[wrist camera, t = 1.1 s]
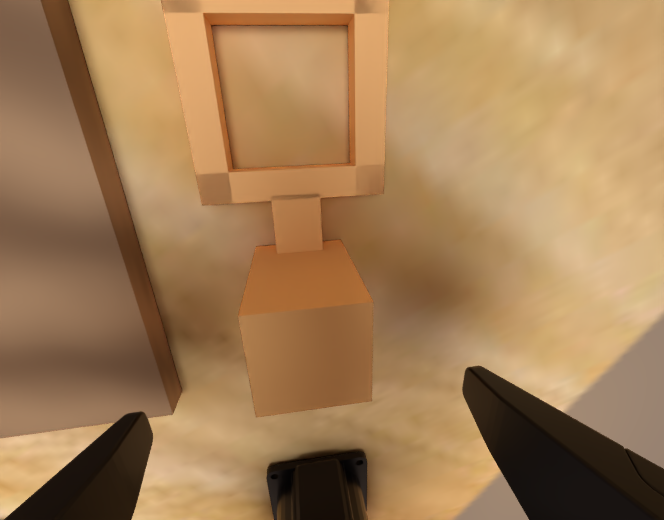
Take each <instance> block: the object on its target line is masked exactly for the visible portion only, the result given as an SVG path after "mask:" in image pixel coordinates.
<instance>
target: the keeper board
mask: <svg viewBox="0 0 664 520" xmlns="http://www.w3.org/2000/svg"><path fill="white" fill-rule="evenodd" d="M181 393H182V390H181V387H180V383H179V380H178V376H177V373H176V369H175V366H174V363H173V359H172V356H171V352H170V349H169V346H168V342H167V339H166V335H165V332H164V328H163V325H162V322H161V318H160V315H159V311H158V308H157V305H156V301H155V298H154V294H153V291H152V288H151V284H150V281H149V277H148V274H147V270H146V267H145V264H144V260H143V257H142V253H141V250H140V247H139V243H138V240H137V236H136V233H135V229H134V226H133V223H132V219H131V216H130V212H129V209H128V206H127V202H126V199H125V195H124V192H123V188H122V185H121V182H120V178H119V175H118V171H117V168H116V165H115V161H114V158H113V154H112V151H111V147H110V144H109V141H108V137H107V134H106V130H105V127H104V124H103V120H102V117H101V113H100V110H99V106H98V103H97V100H96V96H95V93H94V89H93V86H92V83H91V79H90V76H89V72H88V69H87V65H86V62H85V59H84V55H83V52H82V48H81V45H80V42H79V38H78V35H77V31H76V28H75V24H74V21H73V18H72V14H71V11H70V7H69V4H68V1H67V0H0V438H6V437H13V436H20V435H28V434H35V433H42V432H50V431H57V430H64V429H71V428H79V427H86V426H93V425H100V424H108V423H115V422H117V421H118V420H119V419H120V418H121V417H123V416H124V415H125V414H127V413H132V412H140V411H142V412H144V413H145V414H146V416H147V418H151V417H159V416H166V415H173V413H174V410H175V408H176V405H177V403H178V400H179V398H180V395H181Z"/></svg>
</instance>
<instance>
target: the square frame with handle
mask: <svg viewBox="0 0 664 520" xmlns="http://www.w3.org/2000/svg"><path fill="white" fill-rule="evenodd" d="M161 3H162V8H163V13H164V18H165V23H166V28H167V33H168V38H169V43H170V48H171V53H172V58H173V63H174V68H175V73H176V78H177V83H178V88H179V93H180V98H181V103H182V108H183V113H184V118H185V123H186V128H187V133H188V138H189V143H190V148H191V153H192V158H193V163H194V168H195V173H196V178H197V183H198V188H199V193H200V198H201V203H202V205H217V204H233V203H249V202H264V201H271V204H272V213H273V222H274V231H275V240H276V245H269V246H256V248H255V252H254V256H253V260H252V264H251V268H250V272H249V275H248V279H247V283H246V287H245V291H244V295H243V299H242V302H241V306H240V310H239V314H238V319H239V325H240V331H241V336H242V342H243V347H244V353H245V358H246V364H247V370H248V375H249V381H250V386H251V392H252V397H253V403H254V409H255V414H256V417H263V416H270V415H277V414H284V413H291V412H298V411H305V410H312V409H319V408H326V407H333V406H340V405H347V404H354V403H361V402H368V401H372V358H373V300H372V298H371V296H370V294H369V293H368V291H367V289H366V287H365V285H364V283H363V281H362V279H361V277H360V275H359V274H358V272H357V270H356V268H355V266H354V264H353V262H352V260H351V258H350V256H349V255H348V253H347V251H346V249H345V247H344V245H343V243H342V241H341V240H331V241H322V224H321V204H320V198H327V197H342V196H358V195H373V194H384V163H385V126H386V90H387V53H388V17H389V0H161ZM211 25H348V62H349V135H350V163H344V164H325V165H306V166H286V167H267V168H248V169H233V166H232V159H231V153H230V146H229V140H228V133H227V127H226V120H225V114H224V107H223V101H222V94H221V88H220V81H219V75H218V68H217V62H216V55H215V49H214V42H213V36H212V29H211Z"/></svg>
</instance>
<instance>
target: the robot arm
mask: <svg viewBox="0 0 664 520" xmlns="http://www.w3.org/2000/svg"><path fill="white" fill-rule="evenodd" d="M462 390H463V395H464V398H465V400H466V402H467V404H468V407H469V409H470V411H471V413H472V415H473V417H474V420H475V422H476V424H477V426H478V428H479V430H480V433H481V435H482V437H483V439H484V441H485V443H486V445H487V447H488V449H489V451H490V453H491V455H492V456H493V458H494V460H495V462H496V463H497V465H498V467H499V468H500V470H501V472H502V474H503V475H504V477H505V479H506V480H507V482H508V484H509V486H510V487H511V489H512V491H513V493H514V494H515V496H516V498H517V499H518V501H519V503H520V505H521V506H522V508H523V510H524V511H525V513H526V515H527V517H528V518H529V520H664V469H663V468H661V467H659V466H657V465H656V464H654V463H652V462H650V461H649V460H647V459H645V458H643V457H641V456H640V455H638V454H636V453H634V452H633V451H631V450H629V449H624V447H623V446H621V445H620V444H618V443H616V442H615V441H613V440H611V439H609V438H607V437H606V436H604V435H602V434H600V433H599V432H597V431H595V430H593V429H592V428H590V427H588V426H586V425H584V424H583V423H581V422H579V421H577V420H576V419H574V418H572V417H570V416H569V415H567V414H565V413H563V412H562V411H560V410H558V409H556V408H554V407H553V406H551V405H549V404H547V403H546V402H544V401H542V400H540V399H539V398H537V397H535V396H533V395H531V394H530V393H528V392H526V391H524V390H523V389H521V388H519V387H517V386H515V385H514V384H512V383H510V382H508V381H507V380H505V379H503V378H501V377H500V376H498V375H496V374H494V373H492V372H491V371H489V370H487V369H485V368H484V367H482V366H473V367H468V368H466V370H465V375H464V381H463V388H462ZM152 442H153V433H152V430H151V427H150V424H149V421H148V419H147V416H146V414H145V413H144V412H142V411H140V412H132V413H127V414H125V415H124V416H123V417H121V418H120V419H119V420H118V421H117V422H116V423H115V424H113V425H112V426H111V427H110V428H109V429H108V430H107V431H105V432H104V433H103V434H102V435H101V436H100V437H98V438H97V439H96V440H95V441H94V442H93V443H92V444H90V445H89V446H88V447H87V448H86V449H85V450H83V451H82V452H81V453H80V454H79V455H78V456H77V457H75V458H74V459H73V460H72V461H71V462H70V463H69V464H67V465H66V466H65V467H64V468H63V469H62V470H60V471H59V472H58V473H57V474H56V475H55V476H54V477H52V478H51V479H50V480H49V481H48V482H47V483H45V484H44V485H43V486H42V487H41V488H40V489H39V490H37V491H36V492H35V493H34V494H33V495H32V496H31V497H29V498H28V499H27V500H26V501H25V502H24V503H22V504H21V505H20V506H19V507H18V508H17V509H16V510H14V511H13V512H12V513H11V514H10V515H9V516H7V517H6V518H5V519H4V520H131V519H132V516H133V513H134V510H135V507H136V503H137V500H138V496H139V492H140V489H141V485H142V481H143V477H144V473H145V469H146V465H147V462H148V458H149V454H150V450H151V446H152ZM267 483H268V489H269V494H270V500H271V505H272V511H273V516H274V520H368V518H367V513H366V511H367V459H366V455H365V453H364V452H353V453H347V454H340V455H334V456H328V457H322V458H316V459H309V460H303V461H297V462H291V463H285V464H278V465H273V466H270V467H269V468H268V469H267Z"/></svg>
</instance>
